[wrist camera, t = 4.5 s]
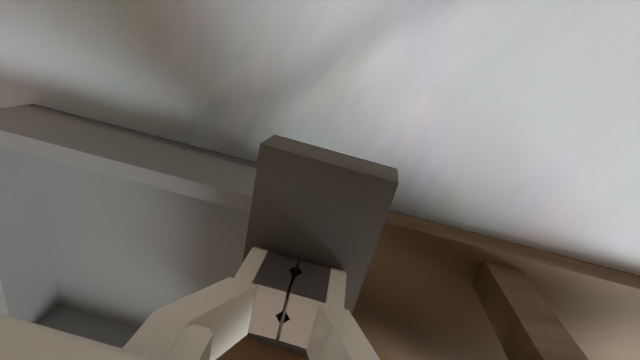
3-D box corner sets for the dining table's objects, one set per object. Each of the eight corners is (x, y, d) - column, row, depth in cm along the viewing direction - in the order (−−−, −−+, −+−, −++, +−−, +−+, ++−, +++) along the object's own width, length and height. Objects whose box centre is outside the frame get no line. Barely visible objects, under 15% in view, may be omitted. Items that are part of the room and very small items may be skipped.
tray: (32, 104, 18) (-54, 115, 14) (288, 170, 17) (268, 201, 14) (61, 301, 24) (6, 346, 20) (252, 356, 23) (231, 412, 20)
